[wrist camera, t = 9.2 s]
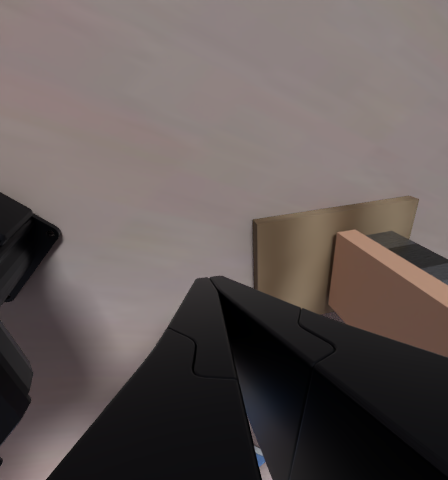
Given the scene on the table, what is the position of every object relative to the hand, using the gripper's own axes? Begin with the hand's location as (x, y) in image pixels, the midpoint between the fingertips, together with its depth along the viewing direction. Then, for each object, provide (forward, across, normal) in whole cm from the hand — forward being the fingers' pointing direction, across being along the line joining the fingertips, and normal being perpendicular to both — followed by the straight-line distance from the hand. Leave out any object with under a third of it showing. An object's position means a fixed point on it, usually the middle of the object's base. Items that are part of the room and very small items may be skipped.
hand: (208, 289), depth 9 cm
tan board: (+12, +13, -7) cm, 19 cm away
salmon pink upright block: (+11, +17, -7) cm, 21 cm away
